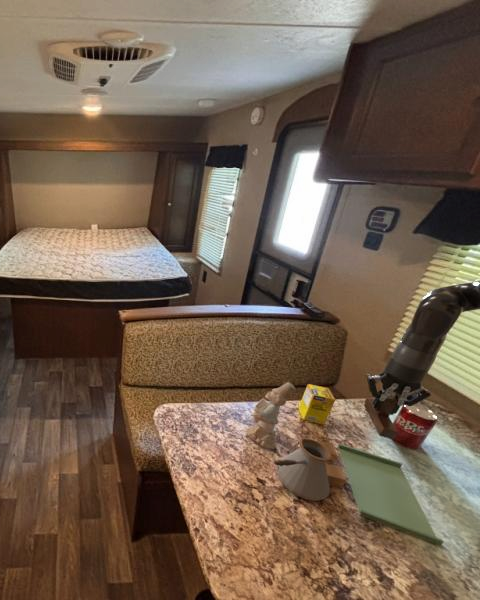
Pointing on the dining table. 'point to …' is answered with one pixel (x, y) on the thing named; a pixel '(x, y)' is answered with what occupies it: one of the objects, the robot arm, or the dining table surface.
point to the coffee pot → (306, 470)
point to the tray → (385, 493)
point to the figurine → (268, 416)
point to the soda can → (413, 425)
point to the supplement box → (316, 404)
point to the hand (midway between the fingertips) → (382, 410)
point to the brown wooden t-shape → (382, 416)
